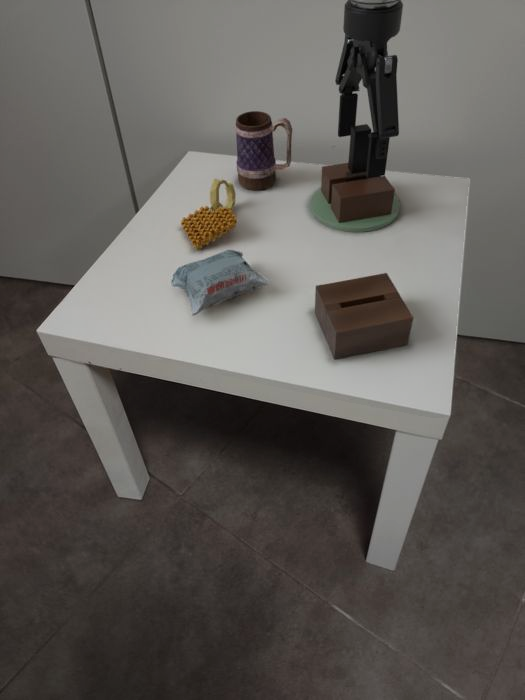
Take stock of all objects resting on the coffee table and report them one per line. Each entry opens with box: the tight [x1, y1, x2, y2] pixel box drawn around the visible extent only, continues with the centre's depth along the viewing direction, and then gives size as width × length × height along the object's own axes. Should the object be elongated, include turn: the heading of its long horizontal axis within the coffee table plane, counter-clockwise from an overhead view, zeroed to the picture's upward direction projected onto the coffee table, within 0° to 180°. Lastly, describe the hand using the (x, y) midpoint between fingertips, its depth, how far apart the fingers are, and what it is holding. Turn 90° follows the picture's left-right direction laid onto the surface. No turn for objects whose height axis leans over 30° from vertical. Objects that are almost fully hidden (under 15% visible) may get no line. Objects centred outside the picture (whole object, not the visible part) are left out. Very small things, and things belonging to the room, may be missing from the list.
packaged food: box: [171, 249, 270, 317], centre depth 78 cm, size 9×12×5 cm
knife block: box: [314, 272, 414, 360], centre depth 71 cm, size 9×10×5 cm
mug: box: [235, 110, 293, 191], centre depth 95 cm, size 10×7×12 cm
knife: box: [345, 123, 372, 182], centre depth 88 cm, size 2×4×13 cm, turn 102°
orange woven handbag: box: [180, 178, 238, 250], centre depth 89 cm, size 7×10×15 cm
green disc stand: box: [310, 162, 401, 233], centre depth 91 cm, size 15×15×5 cm
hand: (359, 154), depth 86 cm, fingers open, 13 cm apart
